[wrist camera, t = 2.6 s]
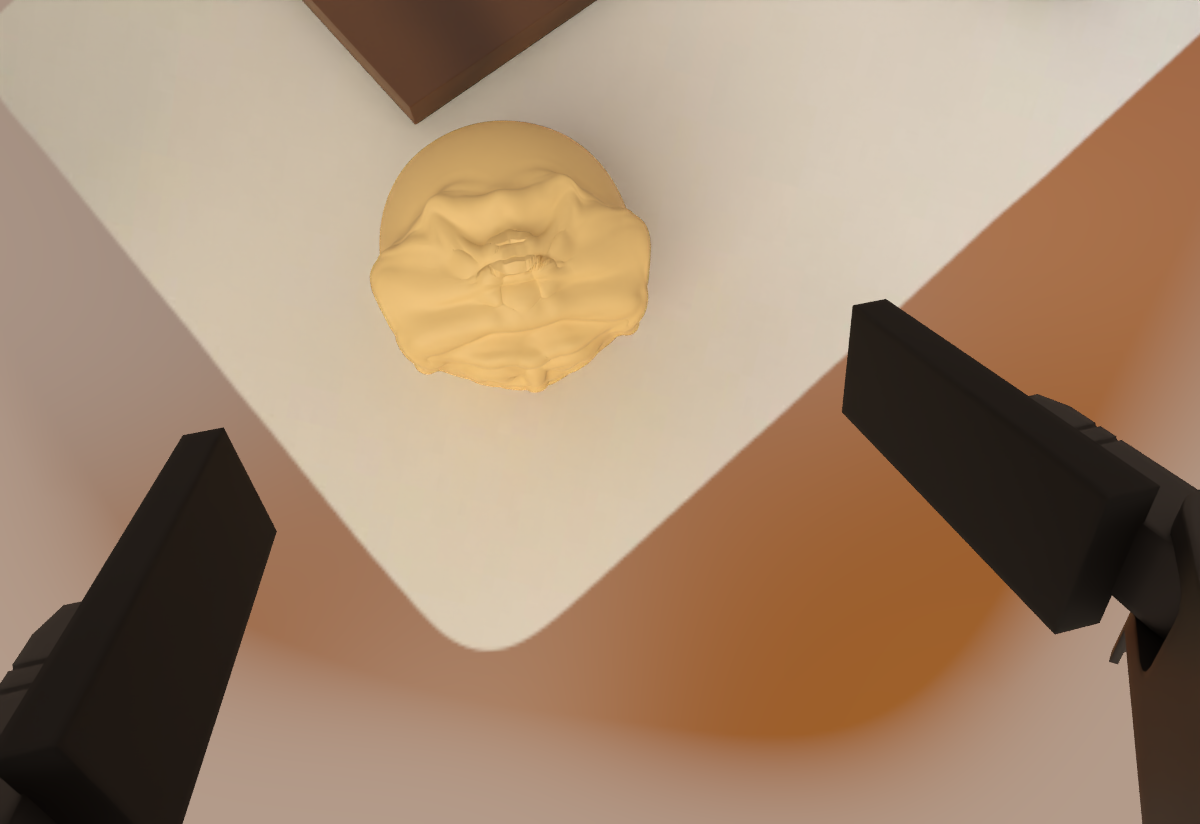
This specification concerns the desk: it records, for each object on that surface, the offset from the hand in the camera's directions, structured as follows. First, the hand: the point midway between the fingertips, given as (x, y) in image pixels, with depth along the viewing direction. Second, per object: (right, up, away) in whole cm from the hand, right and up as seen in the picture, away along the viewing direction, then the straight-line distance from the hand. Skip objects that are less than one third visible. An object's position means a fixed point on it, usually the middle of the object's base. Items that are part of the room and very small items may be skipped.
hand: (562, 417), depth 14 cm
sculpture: (-4, +6, +21) cm, 22 cm away
